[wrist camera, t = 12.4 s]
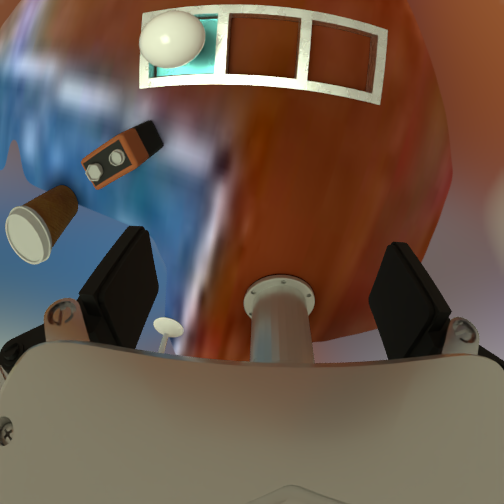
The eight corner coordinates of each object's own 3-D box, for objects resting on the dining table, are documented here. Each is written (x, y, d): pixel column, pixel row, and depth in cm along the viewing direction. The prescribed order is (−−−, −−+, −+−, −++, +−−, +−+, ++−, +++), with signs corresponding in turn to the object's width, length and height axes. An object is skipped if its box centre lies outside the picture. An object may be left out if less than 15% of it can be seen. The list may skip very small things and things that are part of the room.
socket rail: (372, 102, 29) (379, 105, 27) (147, 87, 28) (139, 88, 26) (379, 32, 23) (387, 30, 21) (150, 16, 22) (142, 13, 20)
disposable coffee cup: (85, 180, 36) (40, 218, 26) (86, 230, 41) (51, 274, 32) (44, 172, 35) (-2, 205, 25) (48, 219, 40) (11, 257, 30)
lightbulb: (182, 79, 28) (148, 81, 19) (158, 43, 25) (116, 33, 16) (227, 53, 26) (210, 41, 17) (202, 16, 23) (176, -8, 14)
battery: (113, 141, 33) (74, 164, 25) (151, 118, 31) (116, 134, 23) (127, 166, 35) (91, 195, 27) (165, 146, 33) (135, 170, 25)
